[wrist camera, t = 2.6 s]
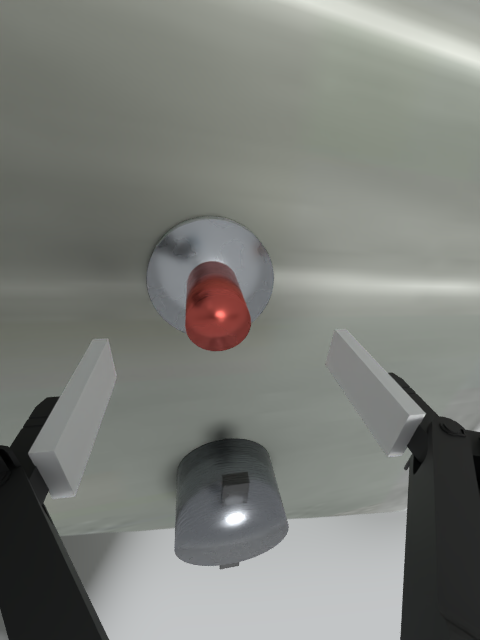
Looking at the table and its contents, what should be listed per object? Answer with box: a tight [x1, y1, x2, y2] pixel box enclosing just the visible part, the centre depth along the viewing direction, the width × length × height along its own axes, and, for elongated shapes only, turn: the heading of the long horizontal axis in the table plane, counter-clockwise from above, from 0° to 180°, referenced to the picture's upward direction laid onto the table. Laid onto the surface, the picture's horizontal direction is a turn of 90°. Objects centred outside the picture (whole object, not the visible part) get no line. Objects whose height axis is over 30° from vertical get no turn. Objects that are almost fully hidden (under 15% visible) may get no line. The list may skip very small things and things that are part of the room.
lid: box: [147, 216, 274, 351], centre depth 21 cm, size 11×11×8 cm
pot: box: [175, 439, 288, 569], centre depth 37 cm, size 22×14×9 cm, turn 177°
